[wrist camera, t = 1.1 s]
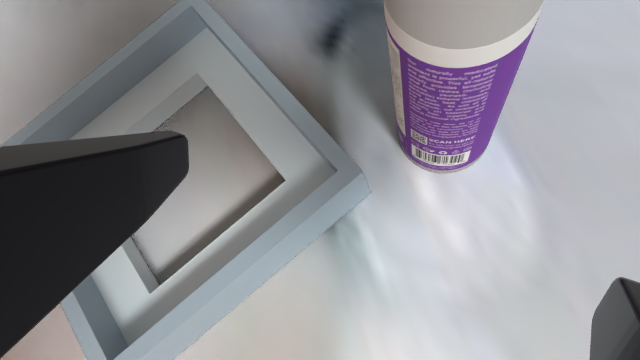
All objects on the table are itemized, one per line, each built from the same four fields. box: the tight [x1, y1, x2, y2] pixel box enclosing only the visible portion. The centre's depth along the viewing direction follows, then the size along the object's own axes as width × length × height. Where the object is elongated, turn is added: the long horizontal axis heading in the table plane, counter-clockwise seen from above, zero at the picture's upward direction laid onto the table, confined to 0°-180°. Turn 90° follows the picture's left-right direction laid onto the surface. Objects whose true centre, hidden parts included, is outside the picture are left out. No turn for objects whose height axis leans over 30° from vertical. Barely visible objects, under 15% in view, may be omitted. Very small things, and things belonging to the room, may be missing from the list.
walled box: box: [0, 0, 371, 360], centre depth 24 cm, size 15×15×4 cm
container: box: [384, 0, 544, 173], centre depth 16 cm, size 5×5×15 cm
